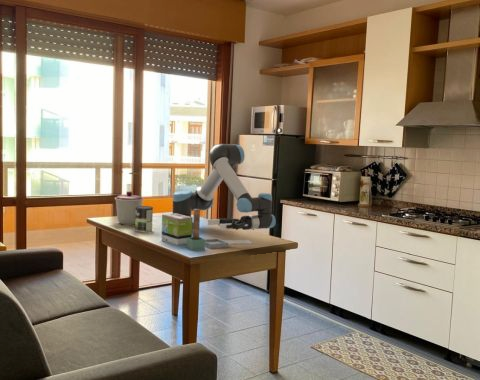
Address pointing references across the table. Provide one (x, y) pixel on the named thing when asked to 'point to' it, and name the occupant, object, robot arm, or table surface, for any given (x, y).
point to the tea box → (176, 228)
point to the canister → (127, 207)
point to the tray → (215, 243)
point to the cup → (195, 243)
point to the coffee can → (143, 218)
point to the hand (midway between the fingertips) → (214, 224)
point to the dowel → (196, 224)
